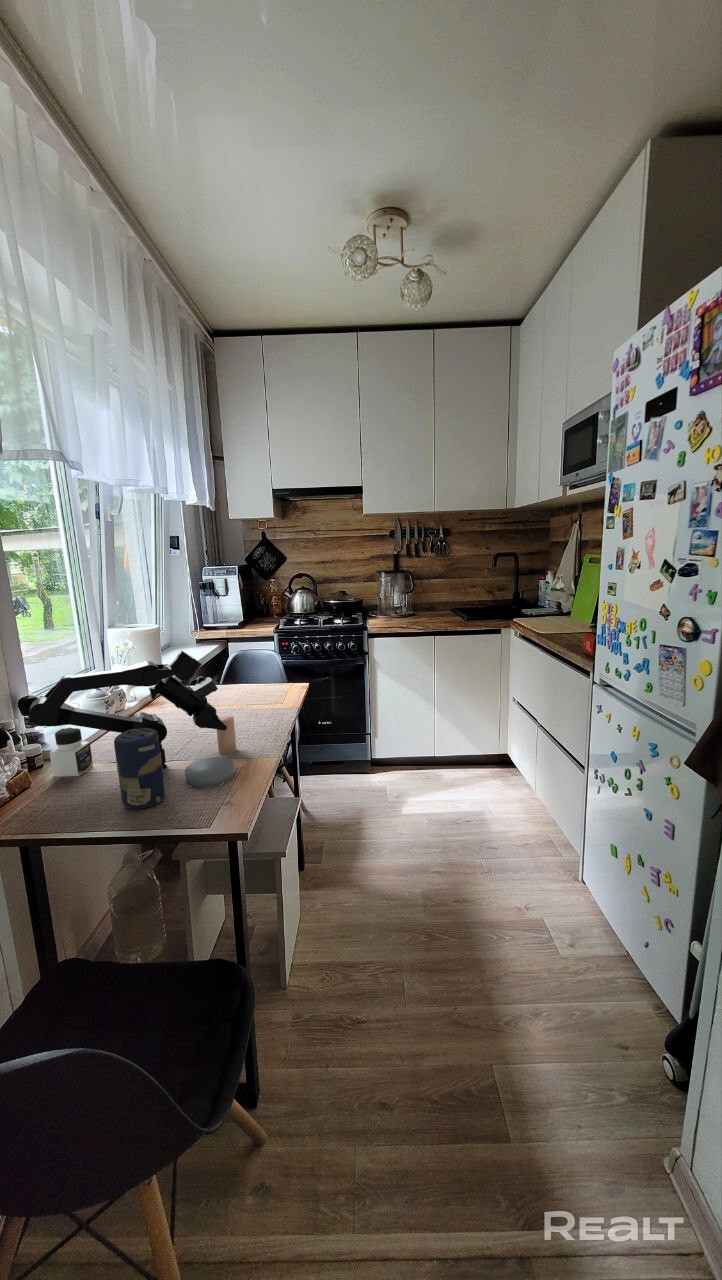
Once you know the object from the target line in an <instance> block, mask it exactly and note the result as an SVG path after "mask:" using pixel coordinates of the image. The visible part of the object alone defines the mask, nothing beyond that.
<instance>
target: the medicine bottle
mask: <svg viewBox="0 0 722 1280" xmlns="http://www.w3.org/2000/svg"><path fill="white" fill-rule="evenodd" d="M54 738H55V745H56V747H55V748H54V749H53V750H50V751H49V757H50V763H51V764H50V765H51V769H52V771H51V772H52V776H53V777H55V778H56V777H57V778H59V777H60V778H61V777H80V776H81V775H82V774H83V773H85V772H86V771H87V770H89V769H90V768H91V767H92V766H93V765H94V763H93V757H92V748H91V744H90V741H83V738H82V732H81V728H79V727H78V726H68V727H64V728H60V729H58V730H57V731H56V732H55V733H54Z"/></svg>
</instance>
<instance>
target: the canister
mask: <svg viewBox="0 0 722 1280" xmlns="http://www.w3.org/2000/svg"><path fill="white" fill-rule="evenodd" d="M113 746H114V753H115V763H116V769H117V775H118V781H119V782H118V783H119V789H120V796H121V803H122V804H123V806H124V807H125V808H128V809H131V810H139V809H140V810H141V809H146V808H150V807H152V806H154V805H156V804H158V803H160V802H161V801H162V800H163V799H164V797H165V796H166V790H165V778H164V777H165V776H164V768H163V766H162V758H161V754H162V753H161V752H160V744H159V735H158V732H157V731H156V730H154V729H149V728H139V729H133V730H129V731H126V732H123V733H119V734H118V735H116V737H114V740H113Z"/></svg>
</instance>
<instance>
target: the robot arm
mask: <svg viewBox="0 0 722 1280" xmlns="http://www.w3.org/2000/svg"><path fill="white" fill-rule="evenodd" d="M202 666H203V664H202V663H201V662H200V661H199V660H197V659H196V658H194V657H193V656H192V655H190V654H188V653H186V652H185V651H183V650H179V652H178V653H177V656H176V657H175V658H174V659H173V660H172V662H171V663H170V664H168V663H166V664H165V663H164V664H163V663H161V664H156V663H154V662H153V661H150V660H146V661H141V662H138V663H134V664H131V665H129V666H126V667H123V668H119V669H111V670H103V671H96V672H95V671H93V672H86V673H78V674H77V673H76V674H64V675H63V676H62V677H60V679H59V681H57V683H56V684H55V685H54V686H52V688H51V689H49V690H48V692H47V693H45V695H44V696H40V697H39V698H36V699H35V700H34V701H33V702H32V703H31V705H30V708H29V711H28V718H29V720H30V722H31V723H32V724H33V725H35V726H37V727H59V726H60V727H61V726H74V727H82V728H90V729H95V730H102V731H107V732H114V733H119V734H121V733H123V732H126V731H129V730H133V729H139V728H149V729H154V730H156V731H157V732H158V735H159V744H160V752H161V753H162V754H161V758H162V766H163V769H166V768H167V767H168V765H167V764H166V763H167V762H166V760H167V759H166V753H165V748H163V744H162V742H163V741H164V740H165V739H166V738H167V735H168V729H167V727H166V725H165V723H164V721H163V719H162V718H160V717H158V716H157V714H156V713H153V714H151V713H146V712H143V711H140V713H139V716H133V717H131V716H130V717H129V716H125V715H119V714H118V715H117V714H113V713H107V712H102V711H95V710H89V709H84V708H78V707H74V706H72V705H70V704H68V703H66V701H67V700H68V699H69V698H70V696H71V695H72V694H73V693H75V692H81V691H88V690H95V689H97V690H98V689H102V688H111V687H118V686H132V687H148V690H149V697H150V698H151V699H152V700H154V699H155V698H156V697H157V696H158V695H160V696H161V697H162V698H164V699H166V700H167V701H168V702H170V703H171V704H173V705H174V707H176V708H177V709H179V710H182V711H183V712H185V713H186V715H188V716H189V717H192V721H193V723H194V725H195V726H196V727H198V728H200V729H210V730H216V731H217V730H224V731H225V730H226V729H227V726H226V725H225V724H224V723H223V722H222V721H221V720H220V719H219V717H220V716H219V715H218V714H217V709H216V707H214V706H213V705H212V703H211V704H210V703H209V702H208V698H207V696H209V695H211V694H212V693H215V692H216V691H217V690H218V689H219V687H218V686H217V685H216V683H215V681H214V679H212V677H210V676H209V677H208V676H207V677H204V676H202V675H200V676H199V677H197V678H196V683H195V686H193V687H191V686H190V685H185V684H184V683H182V682H187V681H190V680H191V679H192V678H193V677H194V675H195V674H196V673H197V672H198V671H199V670H200V668H201V667H202ZM174 676H175V677H176V678H177V679H176V678H175V677H174ZM178 679H179V680H180V681H179V680H178Z"/></svg>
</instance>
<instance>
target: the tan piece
mask: <svg viewBox="0 0 722 1280" xmlns="http://www.w3.org/2000/svg"><path fill="white" fill-rule="evenodd" d="M218 717H219V719H220V720H221V721H222V722H223V723H224V724H225V725H226V726H227V729H226V730H225V731H224V730H217V729H216V735H217V738H216V739H217V746H218V747H217V748H218V754H219V755H221V756H228V755H229V756H230V755H233V754H235V753H236V752H237V739H236V728H235V717H234V716H232V715H223V716H218Z"/></svg>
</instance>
